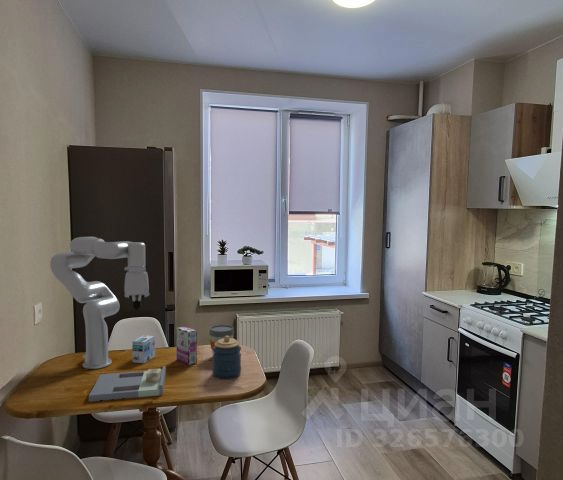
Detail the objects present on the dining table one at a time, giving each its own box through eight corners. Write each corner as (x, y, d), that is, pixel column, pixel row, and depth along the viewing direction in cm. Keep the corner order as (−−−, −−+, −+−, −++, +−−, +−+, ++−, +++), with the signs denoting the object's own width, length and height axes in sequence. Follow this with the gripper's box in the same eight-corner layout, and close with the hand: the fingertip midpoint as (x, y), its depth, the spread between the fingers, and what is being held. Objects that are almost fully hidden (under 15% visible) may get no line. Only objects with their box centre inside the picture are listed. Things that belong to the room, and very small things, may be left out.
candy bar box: (197, 363, 189) (197, 330, 188) (188, 365, 185) (188, 332, 185) (184, 357, 197) (184, 325, 196) (176, 360, 193) (175, 327, 192)
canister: (216, 381, 168) (216, 341, 167) (209, 370, 180) (209, 333, 179) (244, 376, 173) (245, 338, 172) (236, 366, 185) (236, 330, 184)
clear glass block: (146, 383, 160) (146, 373, 160) (148, 378, 165) (148, 369, 165) (158, 382, 161) (158, 373, 160) (160, 377, 166) (160, 368, 165)
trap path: (88, 401, 149) (88, 391, 148) (100, 379, 169) (100, 371, 168) (162, 395, 155) (162, 385, 155) (165, 374, 175) (165, 366, 175)
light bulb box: (144, 363, 188) (144, 342, 187) (131, 362, 189) (131, 341, 188) (155, 356, 198) (155, 335, 198) (143, 355, 199) (143, 334, 199)
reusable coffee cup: (234, 352, 205) (234, 324, 204) (233, 361, 192) (233, 331, 191) (210, 352, 204) (210, 324, 203) (207, 361, 191) (207, 331, 190)
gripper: (117, 271, 170) (118, 312, 171) (153, 270, 173) (153, 310, 174) (120, 268, 177) (121, 308, 178) (154, 268, 181) (155, 306, 182)
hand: (137, 309), depth 176 cm, fingers closed
